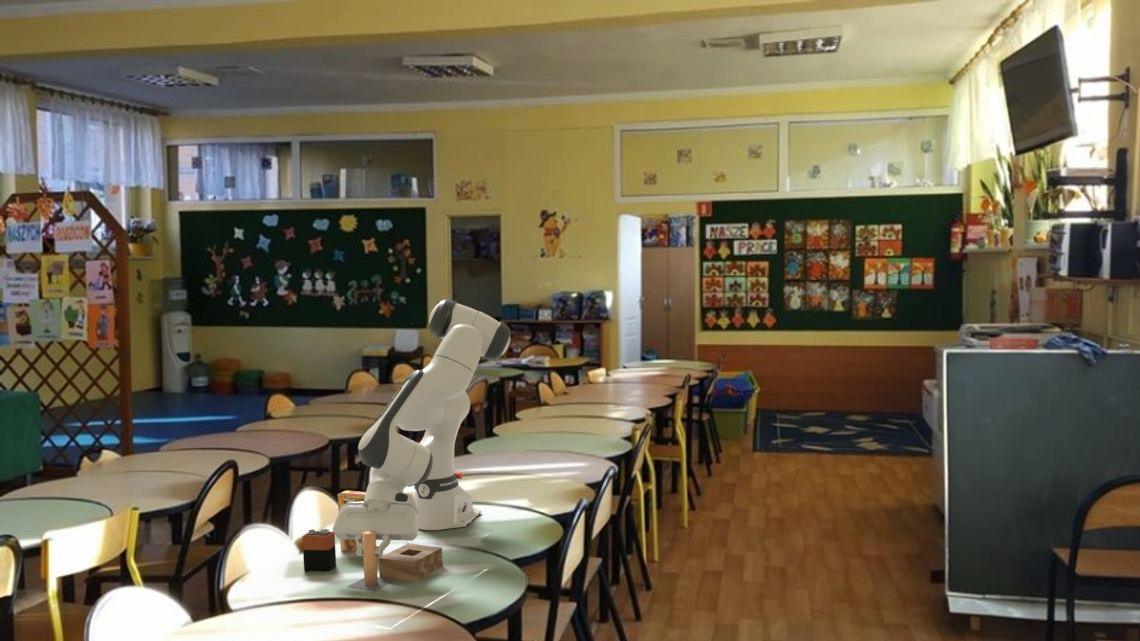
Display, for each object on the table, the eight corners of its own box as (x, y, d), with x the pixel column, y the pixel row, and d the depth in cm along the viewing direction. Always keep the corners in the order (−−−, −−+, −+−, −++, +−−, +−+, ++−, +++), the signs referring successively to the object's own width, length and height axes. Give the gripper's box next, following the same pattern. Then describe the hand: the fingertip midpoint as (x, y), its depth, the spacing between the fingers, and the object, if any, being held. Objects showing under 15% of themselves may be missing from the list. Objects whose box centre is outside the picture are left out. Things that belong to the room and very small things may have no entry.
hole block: (409, 563, 231) (408, 543, 230) (442, 567, 226) (442, 547, 226) (379, 578, 220) (378, 557, 220) (414, 583, 216) (413, 562, 215)
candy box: (377, 549, 243) (374, 492, 242) (367, 554, 239) (364, 496, 238) (349, 546, 246) (346, 489, 245) (339, 551, 242) (336, 493, 241)
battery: (329, 573, 225) (327, 532, 224) (303, 572, 226) (301, 532, 226) (337, 567, 229) (335, 527, 229) (311, 566, 231) (309, 527, 230)
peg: (370, 580, 217) (367, 530, 217) (380, 582, 216) (378, 531, 215) (361, 584, 215) (359, 534, 214) (372, 586, 213) (370, 535, 213)
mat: (368, 577, 221) (368, 575, 221) (395, 581, 217) (395, 579, 217) (346, 588, 214) (346, 586, 214) (374, 592, 210) (374, 591, 210)
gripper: (337, 495, 223) (322, 547, 214) (418, 496, 219) (406, 549, 210) (345, 508, 227) (331, 560, 218) (425, 509, 224) (413, 562, 215)
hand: (368, 554), depth 214 cm, fingers closed on peg, 3 cm apart
